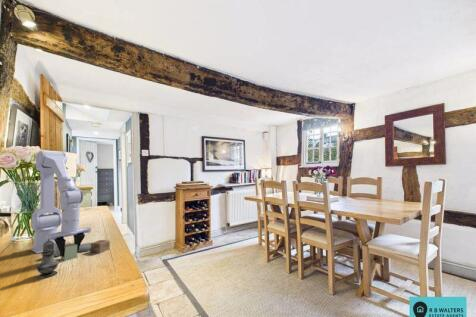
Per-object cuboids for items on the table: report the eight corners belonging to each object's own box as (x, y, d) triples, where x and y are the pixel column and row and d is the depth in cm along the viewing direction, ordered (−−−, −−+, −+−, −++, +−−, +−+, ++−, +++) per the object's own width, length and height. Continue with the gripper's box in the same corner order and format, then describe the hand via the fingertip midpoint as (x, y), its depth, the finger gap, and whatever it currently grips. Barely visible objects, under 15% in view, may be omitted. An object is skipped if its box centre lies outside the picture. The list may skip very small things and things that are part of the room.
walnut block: (90, 252, 96) (90, 243, 96) (100, 248, 100) (100, 239, 101) (99, 253, 94) (100, 244, 95) (109, 249, 99) (109, 240, 99)
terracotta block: (51, 252, 96) (51, 244, 96) (68, 249, 101) (68, 241, 101) (53, 254, 94) (53, 246, 94) (70, 251, 98) (70, 243, 98)
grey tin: (48, 256, 91) (49, 244, 92) (60, 253, 95) (61, 241, 95) (52, 258, 89) (52, 245, 89) (64, 255, 92) (64, 243, 93)
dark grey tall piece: (45, 280, 71) (46, 241, 72) (30, 278, 72) (32, 240, 73) (63, 271, 77) (64, 236, 77) (49, 270, 78) (50, 235, 79)
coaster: (69, 249, 100) (69, 247, 100) (93, 243, 108) (93, 241, 108) (78, 253, 94) (78, 251, 94) (103, 247, 102) (103, 245, 102)
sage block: (61, 258, 89) (61, 245, 89) (72, 255, 92) (73, 243, 93) (64, 260, 87) (65, 247, 87) (76, 257, 90) (77, 244, 90)
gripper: (51, 224, 82) (49, 262, 81) (94, 218, 94) (93, 250, 93) (45, 222, 86) (43, 258, 85) (87, 216, 98) (86, 247, 97)
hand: (69, 254), depth 90 cm, fingers closed on sage block, 4 cm apart
